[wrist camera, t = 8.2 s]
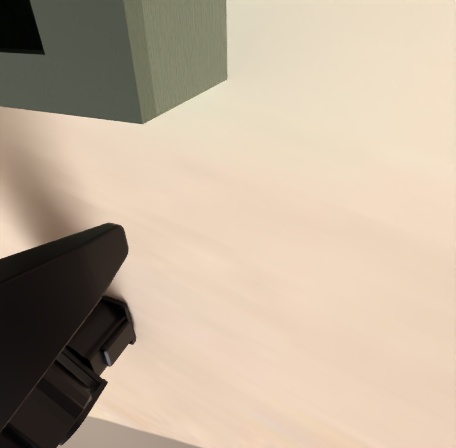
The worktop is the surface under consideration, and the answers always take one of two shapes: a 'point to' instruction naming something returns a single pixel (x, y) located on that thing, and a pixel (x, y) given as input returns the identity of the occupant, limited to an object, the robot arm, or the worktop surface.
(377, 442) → the worktop surface
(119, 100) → the box
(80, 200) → the worktop surface
